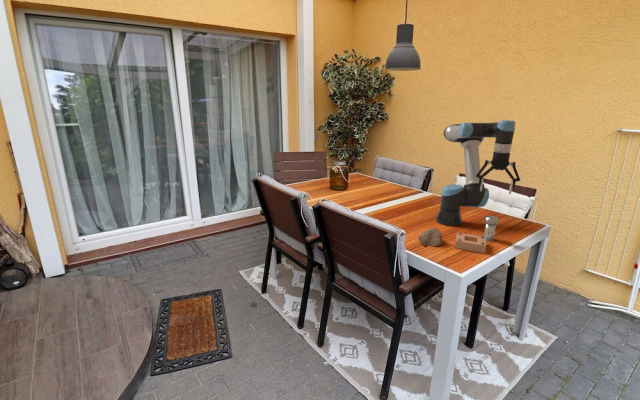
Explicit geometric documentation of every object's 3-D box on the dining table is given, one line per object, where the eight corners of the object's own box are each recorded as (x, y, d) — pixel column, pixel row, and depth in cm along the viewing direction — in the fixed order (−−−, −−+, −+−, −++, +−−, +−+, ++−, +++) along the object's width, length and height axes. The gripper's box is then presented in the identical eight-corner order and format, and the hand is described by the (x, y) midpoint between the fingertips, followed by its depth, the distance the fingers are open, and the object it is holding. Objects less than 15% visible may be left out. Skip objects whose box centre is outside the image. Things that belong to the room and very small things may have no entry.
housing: (454, 249, 169) (455, 239, 167) (455, 241, 179) (457, 231, 178) (484, 255, 163) (486, 244, 162) (484, 245, 174) (485, 235, 172)
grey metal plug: (481, 241, 178) (485, 218, 174) (481, 237, 184) (485, 215, 180) (495, 243, 176) (498, 220, 172) (494, 239, 181) (498, 216, 177)
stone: (441, 245, 179) (435, 227, 182) (449, 243, 170) (443, 224, 173) (420, 250, 178) (414, 232, 180) (427, 248, 169) (421, 229, 171)
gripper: (474, 151, 169) (469, 191, 175) (531, 154, 159) (523, 196, 165) (475, 149, 175) (469, 187, 182) (529, 152, 165) (521, 193, 172)
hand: (495, 192), depth 173 cm, fingers open, 13 cm apart
